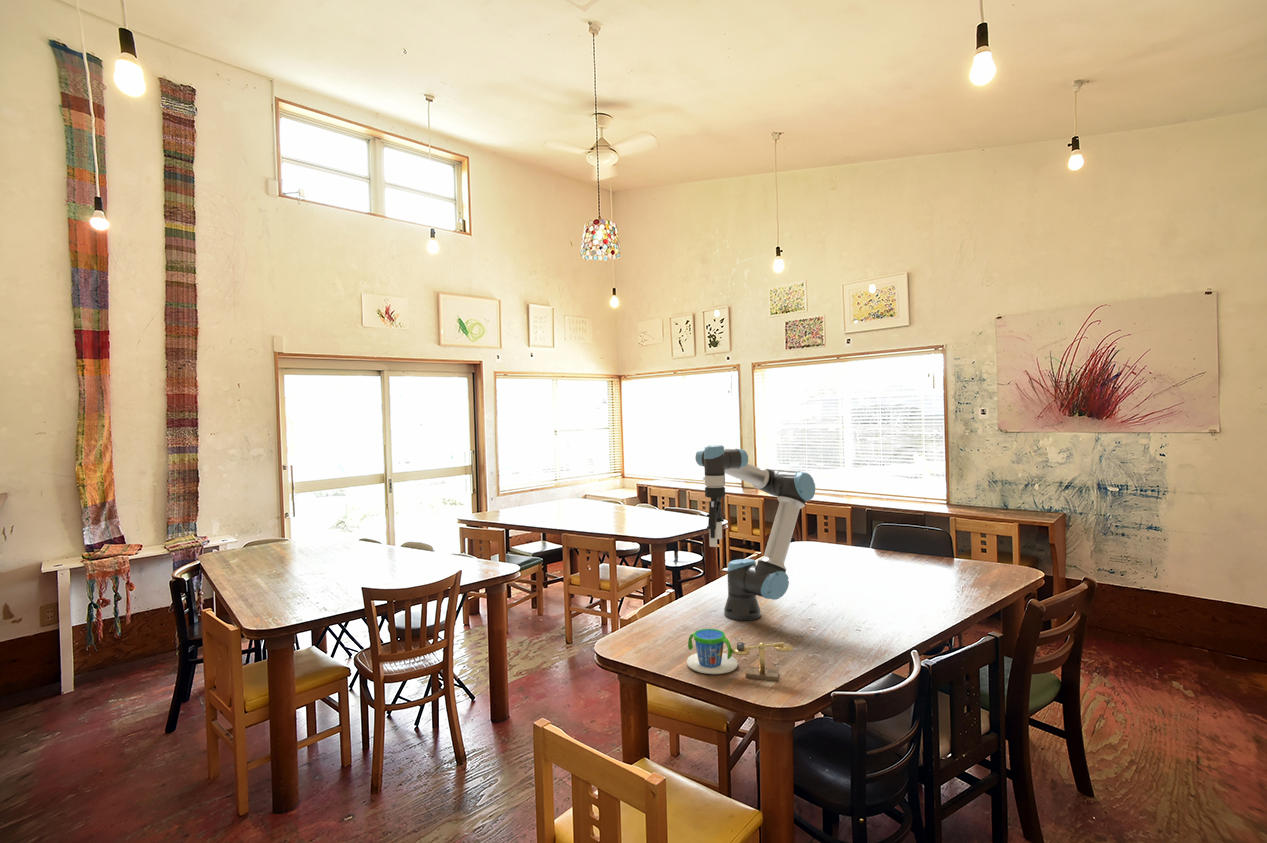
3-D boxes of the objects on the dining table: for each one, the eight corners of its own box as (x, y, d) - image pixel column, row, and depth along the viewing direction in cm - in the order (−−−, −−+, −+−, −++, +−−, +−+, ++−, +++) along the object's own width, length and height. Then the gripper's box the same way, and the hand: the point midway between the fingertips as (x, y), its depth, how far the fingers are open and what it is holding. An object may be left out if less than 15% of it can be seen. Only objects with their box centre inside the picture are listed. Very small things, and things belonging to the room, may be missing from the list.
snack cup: (681, 662, 204) (681, 632, 204) (700, 653, 211) (699, 624, 211) (720, 675, 193) (719, 643, 193) (738, 665, 201) (737, 634, 201)
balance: (733, 668, 201) (732, 634, 201) (793, 674, 196) (793, 640, 196) (730, 675, 196) (730, 641, 196) (793, 682, 190) (792, 647, 190)
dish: (692, 652, 215) (692, 649, 215) (740, 657, 210) (740, 654, 210) (682, 672, 199) (682, 668, 199) (734, 678, 194) (734, 674, 194)
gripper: (710, 482, 240) (711, 535, 240) (699, 490, 216) (700, 549, 217) (729, 482, 238) (730, 536, 238) (720, 490, 214) (721, 550, 214)
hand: (716, 542), depth 227 cm, fingers open, 13 cm apart
